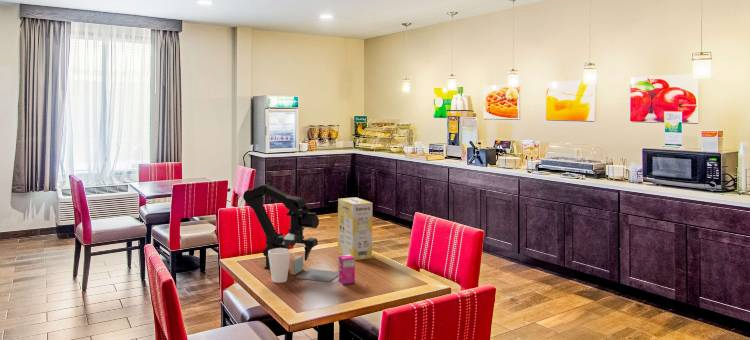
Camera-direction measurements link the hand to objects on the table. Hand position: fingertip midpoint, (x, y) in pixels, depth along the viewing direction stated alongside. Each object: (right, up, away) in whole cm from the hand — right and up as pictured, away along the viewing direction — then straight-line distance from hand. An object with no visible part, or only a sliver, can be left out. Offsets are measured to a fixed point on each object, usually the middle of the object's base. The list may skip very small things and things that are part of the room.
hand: (296, 259), depth 243 cm
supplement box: (+23, -8, -14) cm, 28 cm away
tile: (0, -6, +1) cm, 6 cm away
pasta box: (+25, -3, +31) cm, 40 cm away
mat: (+11, -6, -5) cm, 14 cm away
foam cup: (-5, -7, -13) cm, 15 cm away
